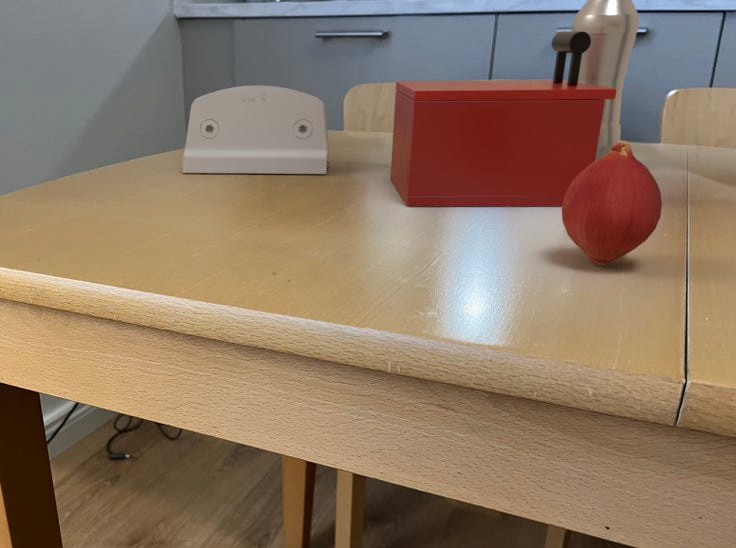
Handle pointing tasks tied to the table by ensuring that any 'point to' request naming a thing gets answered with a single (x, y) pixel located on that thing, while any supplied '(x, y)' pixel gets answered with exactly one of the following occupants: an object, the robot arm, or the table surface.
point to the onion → (612, 206)
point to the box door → (519, 88)
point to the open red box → (491, 150)
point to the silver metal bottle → (607, 57)
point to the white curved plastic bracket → (257, 133)
